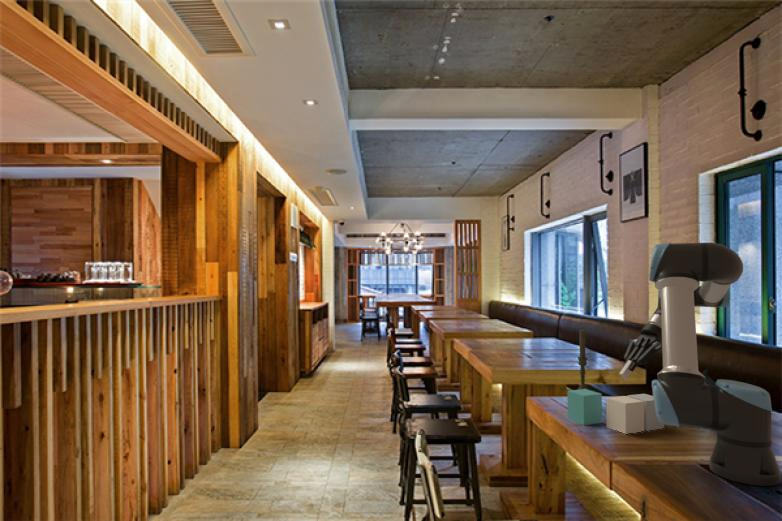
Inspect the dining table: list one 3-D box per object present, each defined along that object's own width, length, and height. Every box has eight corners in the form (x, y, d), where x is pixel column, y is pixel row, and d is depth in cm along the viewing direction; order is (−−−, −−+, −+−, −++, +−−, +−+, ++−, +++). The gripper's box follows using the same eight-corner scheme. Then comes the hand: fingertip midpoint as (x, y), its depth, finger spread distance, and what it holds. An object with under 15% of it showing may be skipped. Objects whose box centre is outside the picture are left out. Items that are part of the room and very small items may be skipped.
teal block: (585, 416, 183) (585, 388, 183) (602, 422, 175) (601, 393, 175) (567, 419, 180) (567, 390, 180) (583, 425, 172) (583, 395, 173)
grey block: (644, 422, 176) (644, 393, 176) (664, 429, 168) (664, 398, 169) (627, 424, 173) (626, 395, 173) (646, 431, 165) (646, 401, 166)
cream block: (624, 425, 172) (624, 395, 173) (644, 432, 165) (643, 401, 165) (606, 427, 170) (606, 397, 170) (625, 434, 162) (625, 403, 162)
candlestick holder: (599, 404, 199) (598, 328, 200) (589, 409, 193) (589, 330, 193) (576, 400, 205) (575, 326, 206) (566, 404, 199) (566, 328, 200)
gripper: (676, 337, 185) (643, 386, 178) (646, 334, 197) (614, 380, 190) (665, 323, 184) (631, 372, 177) (636, 321, 196) (603, 366, 189)
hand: (622, 376), depth 184 cm, fingers closed
